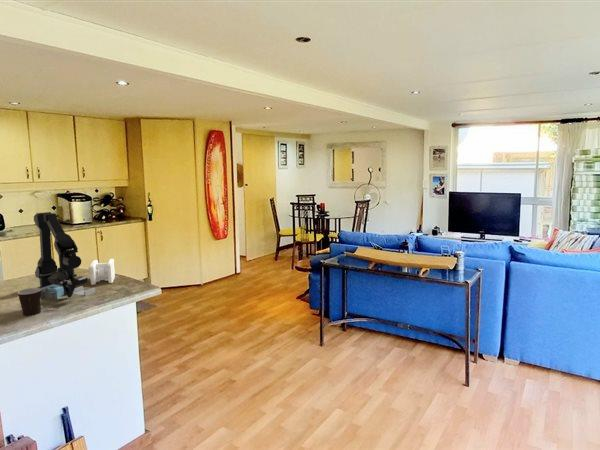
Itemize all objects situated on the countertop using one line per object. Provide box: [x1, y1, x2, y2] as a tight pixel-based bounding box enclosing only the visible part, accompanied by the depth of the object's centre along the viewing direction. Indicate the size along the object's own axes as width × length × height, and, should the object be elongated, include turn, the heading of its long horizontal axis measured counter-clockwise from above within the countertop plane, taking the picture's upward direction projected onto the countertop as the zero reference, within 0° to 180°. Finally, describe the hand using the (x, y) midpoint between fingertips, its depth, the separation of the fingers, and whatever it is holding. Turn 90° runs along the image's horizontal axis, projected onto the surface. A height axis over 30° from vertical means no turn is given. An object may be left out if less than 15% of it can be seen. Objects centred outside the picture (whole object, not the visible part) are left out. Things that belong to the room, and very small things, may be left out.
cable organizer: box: [88, 258, 116, 286], centre depth 225 cm, size 15×11×12 cm
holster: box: [72, 285, 96, 296], centre depth 206 cm, size 9×6×3 cm
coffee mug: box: [17, 287, 42, 317], centre depth 180 cm, size 12×9×10 cm
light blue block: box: [47, 285, 65, 299], centre depth 202 cm, size 6×4×6 cm, turn 69°
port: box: [40, 284, 67, 301], centre depth 202 cm, size 11×12×6 cm
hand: (69, 297), depth 198 cm, fingers closed
